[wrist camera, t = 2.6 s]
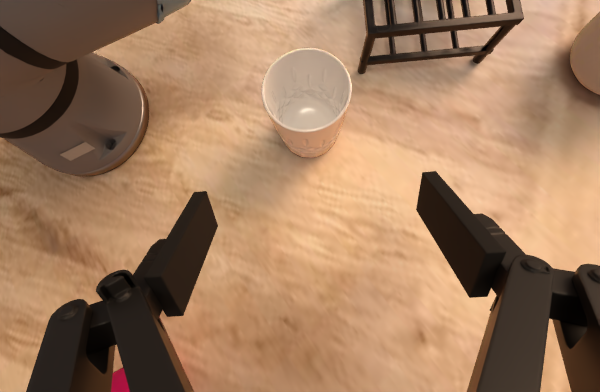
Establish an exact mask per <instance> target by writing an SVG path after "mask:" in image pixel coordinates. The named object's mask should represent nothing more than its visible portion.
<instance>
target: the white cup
mask: <svg viewBox="0 0 600 392" xmlns="http://www.w3.org/2000/svg"><path fill="white" fill-rule="evenodd" d="M261 94H262V101H263V104H264V107H265V109H266V111H267V113H268V115H269V117H270V118H271V120H272V122H273V124H274V126H275V128H276V130H277V131H278V133H279V135H280V137H281V138H282V140H283V141H284V143H285V144H286V145H287V147H288V148H289V149H290V151H291V152H293V153H295V154H297V155H299V156H301V157H312V158H315V157H317V156H319V155H322V154H324V153H326V152H327V151H328V150H329V149H330V148H331V147H332V146H333V144H334V143H335V140H336V137H337V135H338V134H339V131H340V129H341V126H342V124H343V121H344V118H345V114H346V111H347V108H348V105H349V103H350V99H351V94H352V83H351V78H350V75H349V73H348V71H347V69H346V67H345V66H344V64H343V63H342V62H341V61H340V60H339V59H338V58H337V57H335V56H334V55H332V54H331V53H329V52H327V51H324V50H321V49H317V48H300V49H295V50H292V51H289V52H287V53H285V54H283V55H282V56H280V57H279V58H278V59H276V60H275V61H274V62H273V63H272V65H271V66H270V67H269V69H268V70H267V72H266V74H265V76H264V79H263V82H262V89H261Z"/></svg>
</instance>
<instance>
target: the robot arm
mask: <svg viewBox="0 0 600 392" xmlns="http://www.w3.org/2000/svg"><path fill="white" fill-rule="evenodd" d="M190 1H191V0H0V137H1V138H4V139H6V140H7V141H9V142H10V143H12V144H13V145H15V146H16V147H18V148H19V149H21V150H22V151H24V152H25V153H27V154H29V155H30V156H32V157H33V158H35V159H36V160H38V161H39V162H41V163H42V164H44V165H46V166H48V167H50V168H52V169H55V170H57V171H60V172H63V173H67V174H71V175H77V176H93V175H98V174H102V173H105V172H108V171H110V170H112V169H114V168H116V167H118V166H119V165H121V164H122V163H123V162H124V161H126V160H127V159H128V158H129V157H130V156H131V155H132V154H133V153H134V152H135V150H136V149H137V148H138V146H139V144H140V143H141V141H142V139H143V137H144V135H145V132H146V129H147V125H148V120H149V106H148V100H147V97H146V94H145V91H144V89H143V88H142V86H141V84H140V83H139V82H138V81H137V79H136V78H135V77H134V76H132V75H131V74H130V73H129V72H128V71H127V70H125V69H124V68H123V67H121V66H120V65H118V64H116V63H115V62H113V61H111V60H109V59H107V58H104V57H102V56H99V55H97V54H94V53H92V52H93V51H95V50H98V49H100V48H102V47H104V46H106V45H108V44H111V43H113V42H115V41H117V40H119V39H121V38H124V37H126V36H128V35H130V34H132V33H134V32H137V31H139V30H141V29H143V28H145V27H147V26H150V25H152V24H154V23H157V24H159V23H161V21H163V20H164V17H166V16H168V15H170V14H171V13H173V12H175V11H177V10H179V9H181V8H182V7H184V6H186V5H187V4H189V2H190ZM416 210H417V212H418V213H419V215H420V217H421V218H422V220H423V222H424V223H425V225H426V227H427V228H428V230H429V232H430V233H431V235H432V236H433V238H434V240H435V241H436V243H437V245H438V246H439V248H440V250H441V251H442V253H443V255H444V256H445V258H446V260H447V261H448V263H449V264H450V266H451V268H452V269H453V271H454V273H455V274H456V276H457V278H458V279H459V281H460V283H461V284H462V286H463V287H464V289H465V291H466V292H467V294H468V296H469V297H470V298H471V297H487V296H488V294H489V291H490V289H491V288H492V289H493V291H494V292H495V293H496V295H497V296H496V298H495V300H494V302H493V304H492V307H491V309H490V311H491V313H490V317H489V320H488V323H487V327H486V330H485V333H484V337H483V340H482V343H481V347H480V350H479V353H478V356H477V360H476V363H475V366H474V370H473V373H472V376H471V380H470V383H469V386H468V390H467V392H540V387H541V379H542V371H543V363H544V355H545V347H546V339H547V331H548V323H549V318H550V319H552V320H553V323H554V327H555V331H556V335H557V339H558V342H559V346H560V350H561V354H562V357H563V361H564V365H565V369H566V373H567V376H568V380H569V384H570V388H571V391H572V392H600V266H598V265H593V264H584V265H581V266H580V267H579V268H578V269H577V270H576V272H572V271H565V270H559V269H553V268H552V267H551V266H550V265H549V264H548V263H546V262H545V261H543V260H541V259H539V258H537V257H534V256H530V255H526V254H525V253H524V252H523V251H522V250H521V249H520V248H519V247H518V246H517V245H516V244H515V243H514V242H513V240H512V239H511V238H510V237H509V236H508V235H507V234H505V232H504V231H503V230H502V229H501V228H499V226H498V225H497V224H496V223H495V222H494V221H493V220H492V219H491V218H489V217H487V216H486V215H484V214H473V213H472V212H471V211H470V210H469V208H468V207H467V206H466V205H465V204H464V203H463V202H462V201H461V199H460V198H459V197H458V196H457V195H456V194H455V193H454V191H453V190H452V189H451V188H450V187H449V186H448V185H447V184H446V182H445V181H444V180H443V179H442V178H441V177H440V176H439V175H438V173H437V172H436V171H434V172H423V173H422V179H421V185H420V191H419V197H418V203H417V209H416ZM217 227H218V225H217V222H216V219H215V216H214V213H213V210H212V207H211V204H210V201H209V198H208V195H207V192H206V191H203V192H194V193H193V195H192V197H191V198H190V200H189V202H188V203H187V205H186V207H185V208H184V210H183V212H182V214H181V215H180V217H179V219H178V220H177V222H176V224H175V225H174V227H173V229H172V230H171V232H170V234H169V235H168V237H167V239H159V240H158V241H157V242H156V243H155V244H154V245H152V246H151V248H150V249H149V251H148V252H147V255H146V256H145V257H144V259H143V260H142V261H143V262H141V263H140V265H139V266H138V268H137V270H136V271H135V273H134V274H133V275H132V274H131V273H130V272H129V271H128V270H119V271H116V272H113V273H111V274H109V275H108V276H106V277H105V278H104V279H103V280H101V281H100V283H99V284H98V286H97V289H96V292H97V293H98V294H99V296H100V297H101V298H102V300H103V301H100V302H97V303H94V304H91V305H88V304H87V302H86V301H84V300H83V299H77V300H73V301H70V302H68V303H66V304H64V305H63V306H61V307H60V308H58V309H57V310H56V311H55V312H54V313H53V314H52V316H51V318H50V320H49V322H48V325H47V328H46V332H45V335H44V338H43V341H42V344H41V347H40V350H39V353H38V356H37V359H36V363H35V366H34V369H33V372H32V375H31V378H30V381H29V384H28V387H27V391H26V392H111V387H112V375H113V363H114V351H115V345H117V346H118V350H119V353H120V357H121V361H122V364H123V368H124V372H125V375H126V379H127V383H128V386H129V390H130V392H194V391H193V389H192V386H191V384H190V382H189V380H188V378H187V376H186V373H185V371H184V369H183V367H182V365H181V362H180V360H179V358H178V356H177V354H176V352H175V349H174V347H173V345H172V343H171V341H170V338H169V336H168V334H167V332H166V330H165V328H164V325H163V323H162V321H161V319H160V318H159V316H160V314H161V312H162V310H163V311H164V312H165V314H166V316H167V317H171V316H183V315H184V312H185V309H186V307H187V304H188V302H189V299H190V296H191V294H192V291H193V289H194V286H195V284H196V281H197V278H198V276H199V273H200V271H201V268H202V266H203V263H204V260H205V258H206V255H207V253H208V250H209V247H210V245H211V242H212V240H213V237H214V235H215V232H216V229H217Z"/></svg>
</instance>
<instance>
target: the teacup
mask: <svg viewBox="0 0 600 392" xmlns="http://www.w3.org/2000/svg"><path fill="white" fill-rule="evenodd" d="M570 63H571V67H572V70H573V72H574V75H575V76H576V78H577V79H578V81H579V82H580V83H581V84H582V85H583V86H584V87H586V88H587V89H589V90H591V91H592V92H594V93H596V94H599V95H600V12H599V13H598V14H597V15H596V16H595V17H594V18H593V19H592V20H591V21H590V22H589V23H588V24H587V25H586V26H585V27H584V28H583V29H582V30H581V32H580V33H579V34H578V36H577V37H576V39H575V41H574V43H573V45H572V48H571V53H570Z"/></svg>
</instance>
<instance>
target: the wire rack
mask: <svg viewBox="0 0 600 392" xmlns="http://www.w3.org/2000/svg"><path fill="white" fill-rule="evenodd" d="M485 1H486V6H487V12H488V15H484V16H474V17H471V16H470V10H469V4H468V0H461V6H462V12H463V18H454V12H453V6H452V0H446V6H447V13H448V19H446V17H445V11H444V4H443V0H436V4H437V11H438V18H439V20H433V21H423V16H422V9H421V1H420V0H412V7H413V14H414V22H413V23H403V24H397V21H396V13H395V5H394V0H384V3H385V11H386V20H387V25H383V26H376V25H375V20H374V10H373V1H372V0H363V6H364V15H365V25H366V38H365V42H364V46H363V50H362V54H361V57H360V63H359V67H358V72H359V73H360V74H364V73H365V72H366V68H367V65H374V64H385V63H396V62H407V61H418V60H429V59H440V58H451V57H462V56H473V55H475V57H474V58H473V62H474V63H477V64H478V63H480V62H481V61H482V60H483V59H484V58H485V57H486V56H487V55H488V54H490V53H491V52H492V51H493V48H494V47H495V46H496V45H497V44H498V43H499V42H500V41H501V40H502V39H503V38H504V37H505V36H506V35H507V33H508V32H509V31H510V30H511V29H512V28H513V27H514V26H515V25H518V24H519V23H520V22H521V21H522V20H523V19H524V16H523V12H522V7H521V2H520V0H506V4H507V10H508V13H504V14H496V13H495V7H494V2H493V0H485ZM499 26H501V27H500V28H499V29H498V30H497V31H496V33H495V34H494V35H493V36H492V37H491V38H490V39H489V41H488V42H487V43H486V44H485V45H484V46H476V47H465V48H459V44H458V38H457V30H468V29H478V28H489V27H499ZM447 31H450V32H451V39H452V45H453V49H443V50H432V51H427V45H426V38H425V34H426V33H437V32H447ZM416 34H419V36H420V44H421V51H422V52H411V53H400V54H396V50H395V42H394V37H395V36H406V35H416ZM385 37H389V46H390V54H389V55H379V56H370V55H371V51H372V48H373V44H374V41H375V38H385Z"/></svg>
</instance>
